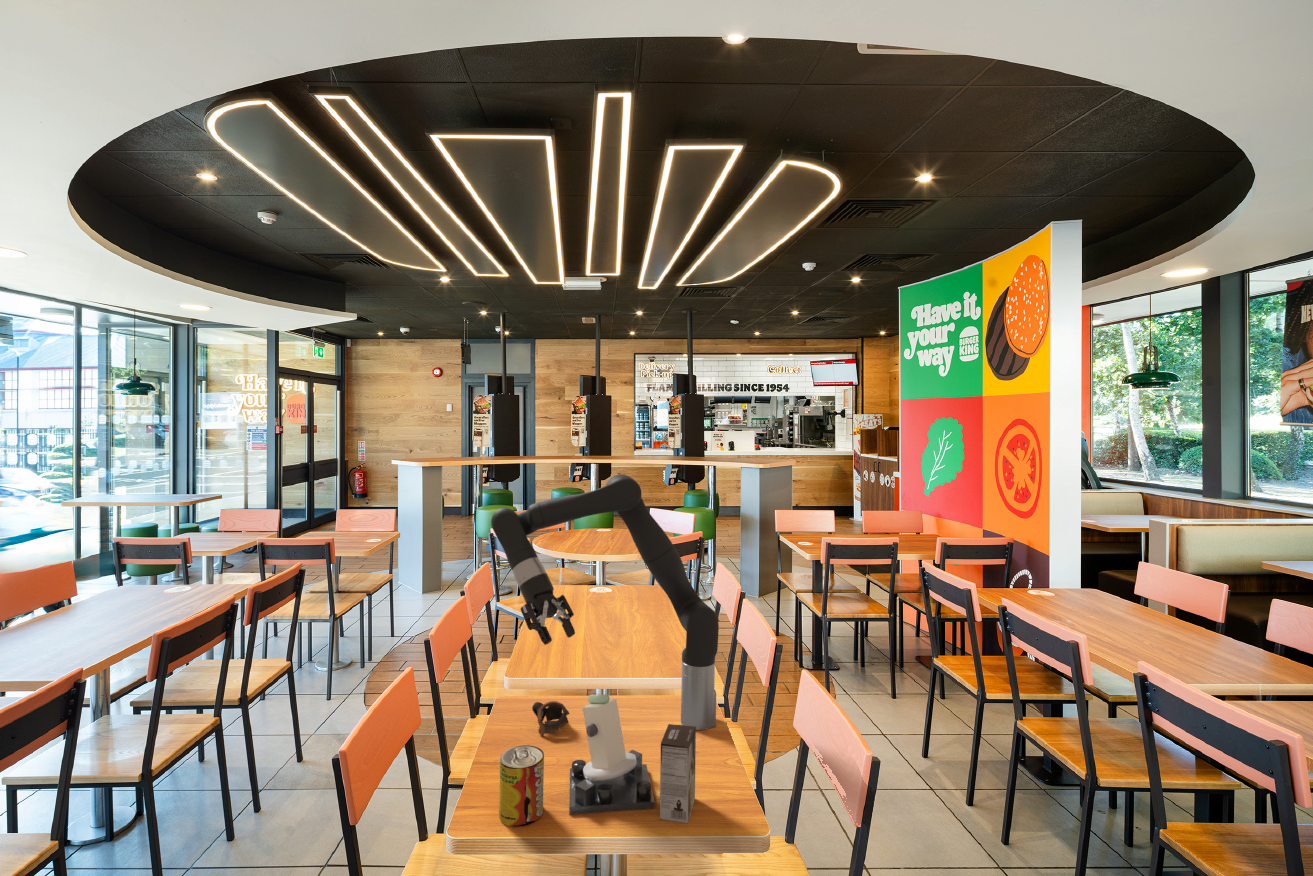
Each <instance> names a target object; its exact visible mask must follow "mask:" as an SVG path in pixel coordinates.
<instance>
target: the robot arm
mask: <svg viewBox="0 0 1313 876" xmlns="http://www.w3.org/2000/svg"><path fill="white" fill-rule="evenodd" d="M642 495H643V494H642V488H641V486H640V483H638V482H637V481H636V480H635V479H634V478H632V477H631V476H629V475H627V474H615V475H613V476H611V477H610V478H609V479H608V480H607V482H606V484H605V485H604V486H602V487H600V488H597V489H594V490H591V491H587V492H582V493H577V494H570V495H565V496H564V495H563V496H558V497H553V498H549V499H545V500H542V501H538V502H534V503H532V504H530V505H529V506H528V508H527V510H524V511H521V512H518V513H517V512H516V511H514V510H513V509H511V508H509V507H502V508H499V509H497V510H496V511H495V512H494V513H493V515H492V516H491V519H490V520H491V521H490V522H491V523H490V525H491V528H492V530H493V531H494V534H495V537H496V538H497V540H498V542H499V543H500V545H501V547H502V549H503V551H504V554H505V556H506V559H507V562H508V565H509V567H510V569H511V571H512V573H513V576H514V580H515V582H516V584H517V586H518V588H519V591H520V593H521V595H522V597H523V599H524V602H525V603H524V605H523V606H521V607H520V611H521V614H522V616H523V619H524V621H525V624H526V627H527V629H528V630H529V631H532V630H534V631H535V632H537V634H538V637H539V638H540V640H541V642H542V643H543V645H545V646H546V645H548V644H550V643H551V642H552V640H553V638H552V636H551V634H550V631H549V630H548V627H547V625H546V619H551V618H552V619H553V620H557V621H559V623H560V624H561V626H562V628H563V631H564V633H565V635H566V637H567V638H568V639H569V638H571V637H573V636H574V635H575V634H576V632H575V631H576V630H575V628H574V626H573V623H572V622H571V618H572V617H573V616H575V614H574V611H573V609H572V608H571V606H570V604H569V601H568V600H567V599H566V596H565V595H564V594H561V595H560V596H558V597H556V596H555V595H554V590H555V588H554V586H553V584H552V581H551V580H550V577H549V575H548V572H547V571H546V569H545V568H544V567H545V566H544V565H543V563H542V562H541V561H540V559H539V557H538V554H537V552H536V550H535V549H534V546H533V545H532V543H531V542H530V540H529V539H528V537H527V536H529V535H531V534H533V533H535V532H537V531H539V530H544V529H546V528H550V527H553V526H557V525H561V524H564V523H567V522H572V521H575V520H578V519H581V518H585V517H590V516H596V515H601V514H607V513H613V512H615V513H616V512H617V514H618V515H619V517H620V518H621V520H622V521H623V522H624V524H625V526H626V527H627V529H628V532H629V534H630V535H631V538H632V541H633V543H634V545H635V547H636V549H637V551H638V552H639V554H640V557H641V558H642V561H643V563H644V564H645V565H646V567H647V569H648V571H649V573H651V575H652V576H653V578H654V579H655V581H656V582H657V584H658V585H659V586H660V588H661V589H662V590H663V591H664V593H665V594H666V595H667V597H668V600H669V601H670V603H671V605H672V606H673V609H674V612H675V614H676V616H677V619H678V620H679V622H680V624H681V627H682V628H683V629H684V630H685V631H686V633H685V634H686V635H685V647H684V649H683V650H682V651H681V686H680V687H681V692H680V693H681V695H680V696H681V697H680V701H681V703H680V725H685V726H695V727H696V731H705V730H708V729H711V728H716V726H717V691H716V689H715V685H716V684H715V681H716V680H715V679H716V676H715V674H716V671H715V669H716V668H715V667H716V664H715V663H716V656H717V654H718V647H719V630H720V629H719V628H720V627H719V626H720V625H719V617H718V615H717V613H716V612H715V611H714V609H713V608H712V607H710V606H708V604H707V603H705V601H704V600H702V599H701V597H700V595H698V593H697V592H696V590H695V589H694V588H693V586H692V585H691V583H690V580H689V578H688V577H687V573H686V572H687V571H686V569H685V566H684V565H685V564H684V563H683V560H682V558H681V556H680V554H679V552H678V550H677V549H676V547H675V546H674V544H673V542H672V541H671V539H670V538H669V537H668V534H667V533H666V532H665V531H664V529H663V528H662V527H661V526H660V524H659V523H658V522H657V521H656V520H655V518H654V517H653V515H652V514H651V513H650V511H649V510H648V508H647V506H646V504H645V502H644V500H643V498H642ZM545 625H546V626H545Z"/></svg>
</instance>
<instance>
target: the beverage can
mask: <svg viewBox="0 0 1313 876" xmlns="http://www.w3.org/2000/svg"><path fill="white" fill-rule="evenodd" d="M544 766H545V754H544V751H543V750H542V749H541V748H539V747H538V746H534V745H530V744H528V745H524V744H523V745H516V746H513V747H511V748H508V749H506V750H505V751H503V753H501V754H500V757H499V801H498V802H499V805H498V812H499V813H498V818H499V821H500V822H501V823H502V824H503V825H505V826H508V827H512V828H521V827H522V828H523V827H528V826H530V825H532V824H535V823H536V822H538V821H539V820H540V819H541V818H542V816H543V813H544V781H545V780H544V778H545V777H544V776H545V775H544V774H545V773H544V772H545V771H544V770H545V769H544Z"/></svg>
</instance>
